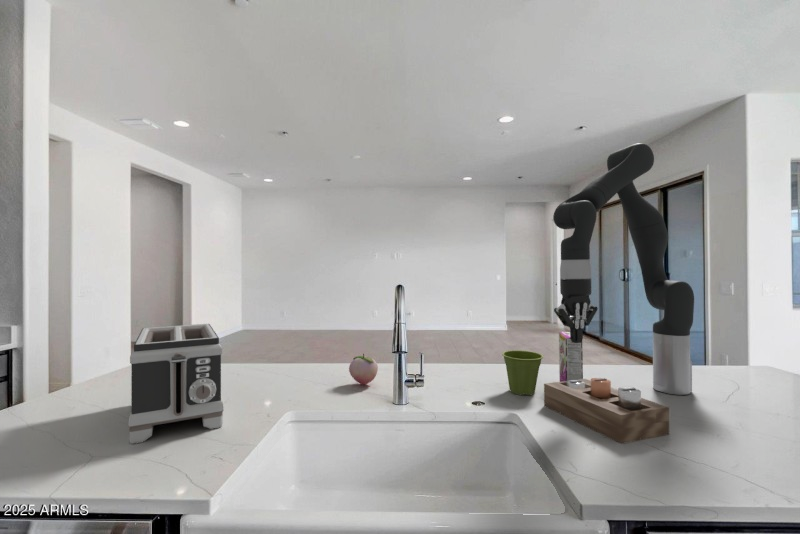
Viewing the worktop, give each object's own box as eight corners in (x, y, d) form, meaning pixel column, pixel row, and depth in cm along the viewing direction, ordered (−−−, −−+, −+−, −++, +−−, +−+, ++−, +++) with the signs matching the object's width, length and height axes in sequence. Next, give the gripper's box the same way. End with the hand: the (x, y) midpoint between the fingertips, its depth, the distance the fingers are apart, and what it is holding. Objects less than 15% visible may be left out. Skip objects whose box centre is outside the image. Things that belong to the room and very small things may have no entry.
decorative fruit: (383, 383, 125) (383, 352, 125) (368, 390, 118) (368, 357, 118) (360, 379, 130) (360, 349, 130) (344, 385, 123) (344, 354, 123)
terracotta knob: (600, 391, 99) (600, 376, 99) (615, 396, 94) (614, 380, 94) (586, 393, 97) (586, 377, 97) (600, 398, 93) (600, 382, 93)
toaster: (125, 454, 78) (125, 349, 78) (138, 403, 107) (138, 327, 108) (225, 434, 87) (225, 340, 87) (212, 393, 117) (212, 322, 117)
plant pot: (499, 395, 113) (499, 356, 114) (504, 384, 124) (504, 349, 124) (542, 400, 109) (542, 360, 109) (544, 388, 120) (544, 352, 120)
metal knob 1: (576, 392, 106) (576, 378, 106) (589, 397, 102) (589, 382, 102) (563, 394, 105) (563, 379, 105) (575, 399, 100) (575, 384, 100)
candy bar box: (558, 381, 127) (558, 331, 127) (574, 382, 126) (574, 331, 126) (565, 392, 116) (565, 337, 116) (583, 393, 115) (583, 337, 115)
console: (585, 400, 109) (585, 378, 109) (669, 434, 87) (668, 407, 87) (544, 405, 105) (544, 383, 105) (621, 443, 82) (621, 415, 82)
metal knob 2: (628, 401, 91) (628, 384, 91) (645, 407, 87) (645, 390, 87) (613, 403, 90) (613, 386, 90) (630, 410, 85) (630, 392, 85)
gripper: (584, 276, 109) (585, 338, 109) (545, 277, 105) (546, 342, 105) (606, 276, 102) (607, 343, 102) (565, 277, 98) (567, 347, 97)
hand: (576, 342), depth 103 cm, fingers closed
